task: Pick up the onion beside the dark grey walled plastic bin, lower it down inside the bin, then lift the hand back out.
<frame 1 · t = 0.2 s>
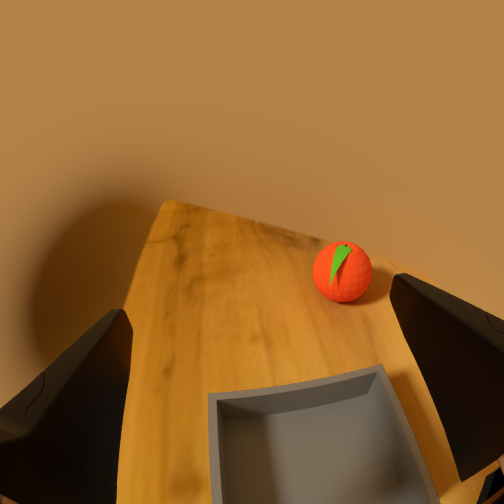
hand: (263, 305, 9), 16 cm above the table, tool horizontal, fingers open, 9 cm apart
bin: (312, 478, 15), on the table
clementine: (337, 298, 33), on the table
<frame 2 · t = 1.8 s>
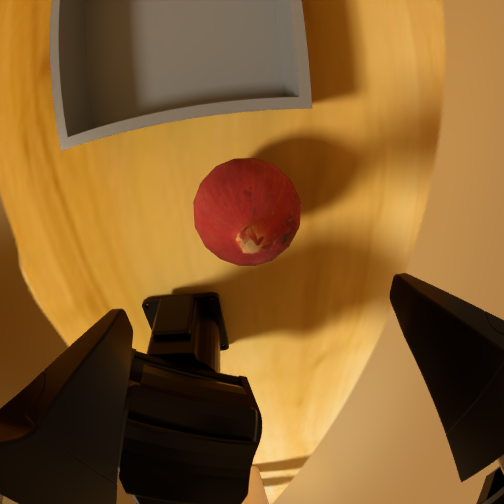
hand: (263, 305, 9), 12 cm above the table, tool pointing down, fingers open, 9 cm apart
bin: (177, 24, 13), on the table
foam cup: (243, 468, 46), on the table
onion: (242, 190, 19), on the table
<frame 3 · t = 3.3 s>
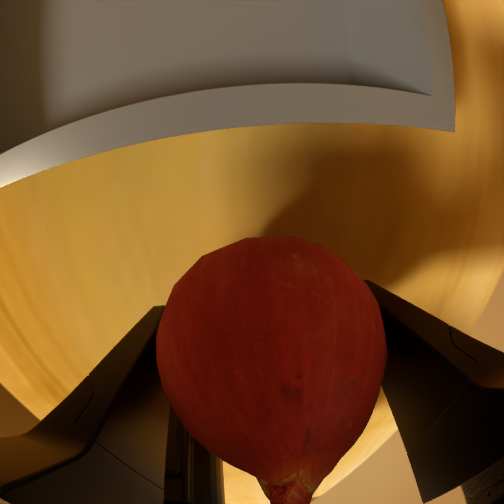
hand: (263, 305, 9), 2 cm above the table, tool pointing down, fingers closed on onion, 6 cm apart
onion: (257, 270, 10), on the table, touching gripper
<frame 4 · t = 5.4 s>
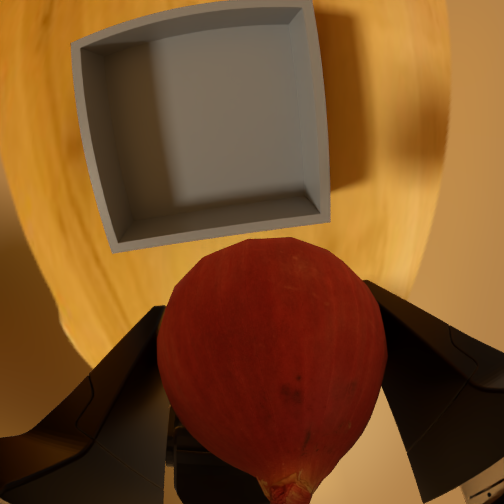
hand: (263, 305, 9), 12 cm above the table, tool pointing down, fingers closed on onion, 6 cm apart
bin: (204, 118, 17), on the table
onion: (257, 271, 10), point 10 cm above the table, touching gripper
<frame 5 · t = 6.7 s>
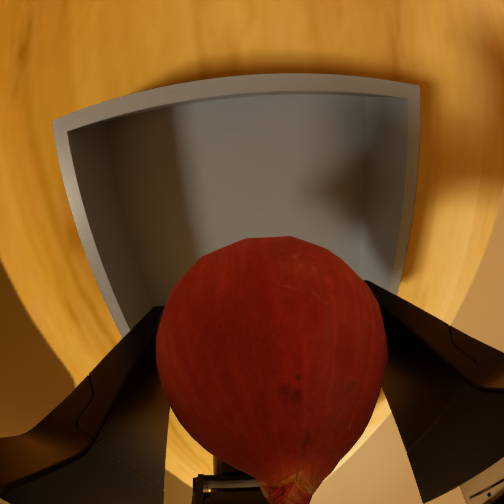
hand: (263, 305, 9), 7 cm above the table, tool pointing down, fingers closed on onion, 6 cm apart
bin: (247, 216, 15), on the table
onion: (257, 270, 10), point 5 cm above the table, touching gripper
when the fingers open (5 cm above the table, at t = 7.5 s): onion drops 2 cm, resting on bin.
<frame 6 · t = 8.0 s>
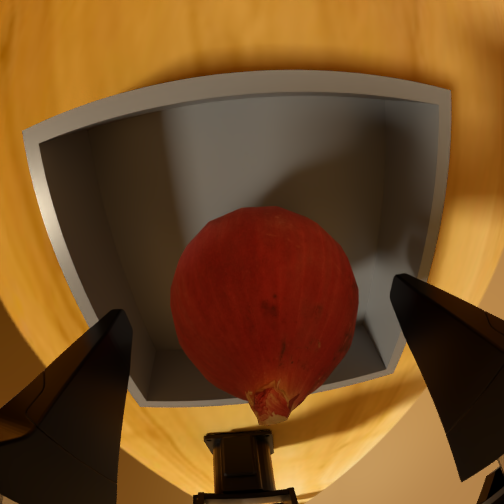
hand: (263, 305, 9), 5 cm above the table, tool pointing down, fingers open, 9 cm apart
bin: (249, 234, 13), on the table
foam cup: (263, 501, 46), on the table
onion: (256, 244, 12), point 1 cm above the table, touching bin
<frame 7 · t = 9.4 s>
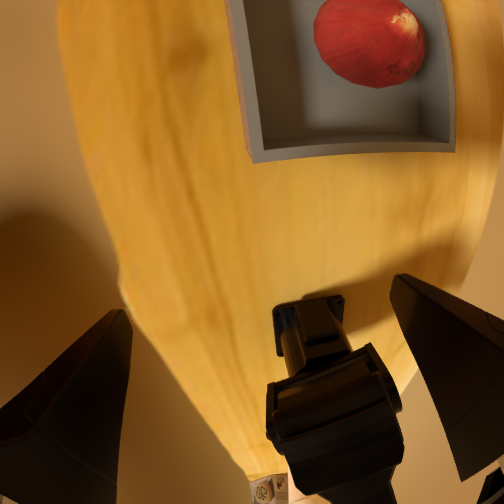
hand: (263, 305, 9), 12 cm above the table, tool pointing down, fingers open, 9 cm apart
bin: (333, 48, 14), on the table
foam cup: (301, 459, 49), on the table
onion: (341, 48, 14), point 1 cm above the table, touching bin
coffee box: (269, 478, 56), on the table
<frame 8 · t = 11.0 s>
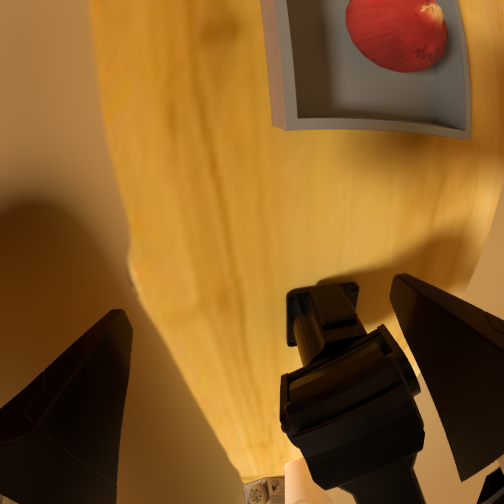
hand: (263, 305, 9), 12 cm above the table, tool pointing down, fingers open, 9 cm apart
bin: (358, 38, 14), on the table
foam cup: (299, 461, 47), on the table
onion: (366, 37, 13), point 1 cm above the table, touching bin
coffee box: (263, 481, 54), on the table
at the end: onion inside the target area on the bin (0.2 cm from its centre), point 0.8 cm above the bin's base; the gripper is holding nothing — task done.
